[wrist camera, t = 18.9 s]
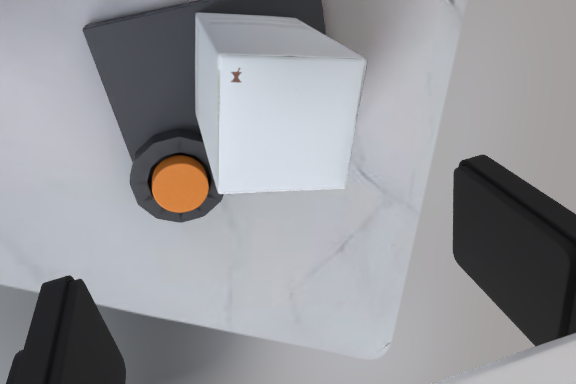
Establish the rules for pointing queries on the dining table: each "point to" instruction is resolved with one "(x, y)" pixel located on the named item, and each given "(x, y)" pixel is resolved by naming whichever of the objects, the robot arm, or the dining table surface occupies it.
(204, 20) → the white packaging box
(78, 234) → the dining table surface
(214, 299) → the dining table surface
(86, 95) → the dining table surface
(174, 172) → the button
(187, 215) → the scale
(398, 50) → the dining table surface
